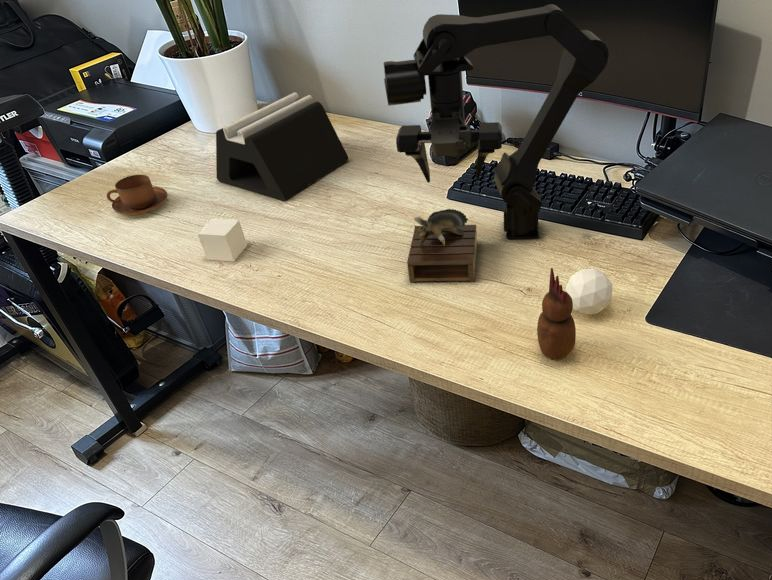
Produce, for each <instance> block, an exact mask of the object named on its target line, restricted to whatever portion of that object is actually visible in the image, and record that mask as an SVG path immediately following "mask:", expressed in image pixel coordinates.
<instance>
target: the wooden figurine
mask: <svg viewBox="0 0 772 580" xmlns="http://www.w3.org/2000/svg"><path fill="white" fill-rule="evenodd" d="M541 311H542V312H541V313H540V314H539V316H538V320H537V325H536V327H537V328H536V334H537V341H538V346H539V349H540V351H541V353H542V354H543V355H544V356H545V357H546V358H548V359H550V360H554V361H559V360H562V359H566V358H567V357H568V356H569V355H570V354H571V353H572V351H573V349H574V348H575V344H576V339H577V337H576V335H577V331H576V329H577V328H576V324H575V319H574V317H573V315H572V314H573V311H574V309H573V302H572V298H571V296H570V295H569V294H568V293H567V292H566V290H563V285H562V284H560V279H559V275H556V276H555V273H554V268H553V267H550V272H549V284H548V292H547V293H546V294H544V295H543V298H542V303H541Z"/></svg>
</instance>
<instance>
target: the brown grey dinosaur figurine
mask: <svg viewBox="0 0 772 580" xmlns="http://www.w3.org/2000/svg"><path fill="white" fill-rule="evenodd" d="M468 220H469V219H468V217H467V215H466V214H465V213H464V212H462V211H461V210H458V209H454V208H453V209H452V208H447V209H442V210H438V211H433V212H432V213H431V214H430V215H429V216H428V218H427V219H426V220H425V219H424V218H422V217H420V216H413V221H414V222H416V223H417V224H418V225H413V227H414V228H415V227H416V228H417V229H418V232H419V233H418V232H415V233H416V234H418V235H419V237H420V244H422V243H423V242H424V241H425V240H426V238H427V237H428V236H429V235H431V234H433V235H434V236H435V237H436V238H438V239H439V240H440V241H441V242H442V243H443V245H445V239H444V237H443V236H442V234H441V232H443V231H447V232H453V233H456V234H459V235H462V234H463V233H464V232H463V231H462V230H460V229H458V228H455V227H461V226H464V225H466V223H468ZM419 226H421V227H419ZM423 226H426V227H425V228H424V229H423Z"/></svg>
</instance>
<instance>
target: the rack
mask: <svg viewBox="0 0 772 580" xmlns="http://www.w3.org/2000/svg"><path fill="white" fill-rule="evenodd" d="M418 226H419V227H421V226H422V225H418ZM425 227H426V226H423V229H424V228H425ZM455 228H458V229H460V230H462V231H463V232H464V233H463V234H462V235H459V234H456V233H453V232H447V231H443V232H441V234H442V236H443V237H444V239H445V245H443V243H442V242H441V241H440V240H439V239H438V238H436V237H435V236H434V235H433V234H431V235H429V236H428V237H427V238H426V240H425V241H424V242H423V243H422V244H420V237H419V235H418V234H416V233H415V232H418V229H417V228H416V227H414V229H413V233H412V239H411V243H410V248H409V252H408V256H407V261H406V263H407V273H408V280H409V283H412V284H413V283H416V282H460V281H464V282H465V281H467V282H470V283H474V282H475V278H476V277H475V276H476V263H477V252H478V230H477V224H465V225H464V226H461V227H455ZM418 233H419V232H418Z"/></svg>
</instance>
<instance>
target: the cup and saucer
mask: <svg viewBox="0 0 772 580" xmlns="http://www.w3.org/2000/svg"><path fill="white" fill-rule="evenodd" d="M111 194H118V196H117V197H116V198H115V199H113V198H111ZM106 198H107V200H108V201H109V202H110V203H111V208H112V210H113V211H114V212H116V213H118V214H120V215H124V216H125V215H126V216H136V215H142V214H146V213H149V212H153V211H154V210H156V209H158V208H159V207H161V206H162V205H163V204H164V203H165V201H166V200H167V198H168V192H167V189H164V188H162V187H159V186H153V184H152V182H151V179H150V177H149V176H148V175H146V174H132V175H128V176H125V177H123V178H122V179H121V178H120V179H119V180H117V182H115V185H114V189H110V190H109V191H107V193H106Z"/></svg>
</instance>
